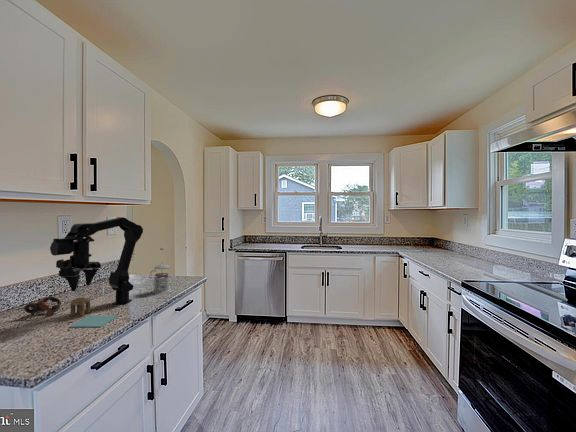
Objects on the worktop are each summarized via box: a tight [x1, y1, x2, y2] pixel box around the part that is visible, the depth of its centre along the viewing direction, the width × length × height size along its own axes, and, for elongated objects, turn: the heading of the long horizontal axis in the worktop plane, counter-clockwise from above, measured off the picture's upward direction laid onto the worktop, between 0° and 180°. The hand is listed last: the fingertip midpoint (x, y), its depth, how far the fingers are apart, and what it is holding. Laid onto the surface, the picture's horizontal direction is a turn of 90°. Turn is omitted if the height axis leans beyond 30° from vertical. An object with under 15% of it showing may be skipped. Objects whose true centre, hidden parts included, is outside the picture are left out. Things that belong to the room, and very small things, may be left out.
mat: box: [69, 314, 119, 328], centre depth 117 cm, size 12×12×1 cm
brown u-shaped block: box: [70, 297, 91, 318], centre depth 124 cm, size 5×5×7 cm
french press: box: [148, 247, 171, 294], centre depth 163 cm, size 10×12×25 cm
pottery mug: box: [23, 296, 62, 317], centre depth 123 cm, size 12×10×8 cm
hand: (81, 288), depth 124 cm, fingers open, 9 cm apart
